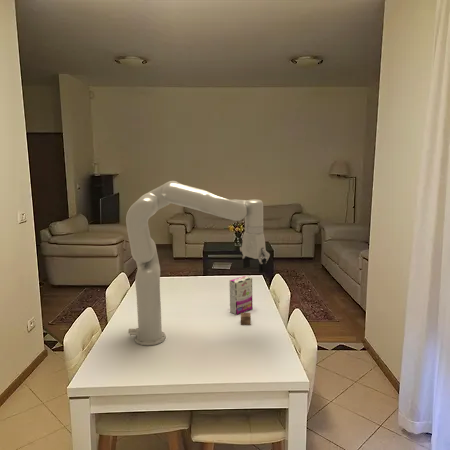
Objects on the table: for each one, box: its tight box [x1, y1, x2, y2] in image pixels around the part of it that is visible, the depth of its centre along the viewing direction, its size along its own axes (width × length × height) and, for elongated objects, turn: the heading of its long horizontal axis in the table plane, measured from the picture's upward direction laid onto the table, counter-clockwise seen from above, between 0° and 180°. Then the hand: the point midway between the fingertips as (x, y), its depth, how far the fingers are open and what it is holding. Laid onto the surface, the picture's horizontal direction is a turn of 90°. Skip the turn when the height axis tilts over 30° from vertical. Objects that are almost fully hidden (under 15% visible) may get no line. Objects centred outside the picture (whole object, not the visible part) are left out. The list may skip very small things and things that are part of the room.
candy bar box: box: [229, 275, 253, 316], centre depth 196 cm, size 11×5×16 cm, turn 131°
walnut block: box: [240, 312, 252, 326], centre depth 183 cm, size 4×4×4 cm
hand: (254, 270), depth 168 cm, fingers open, 9 cm apart
